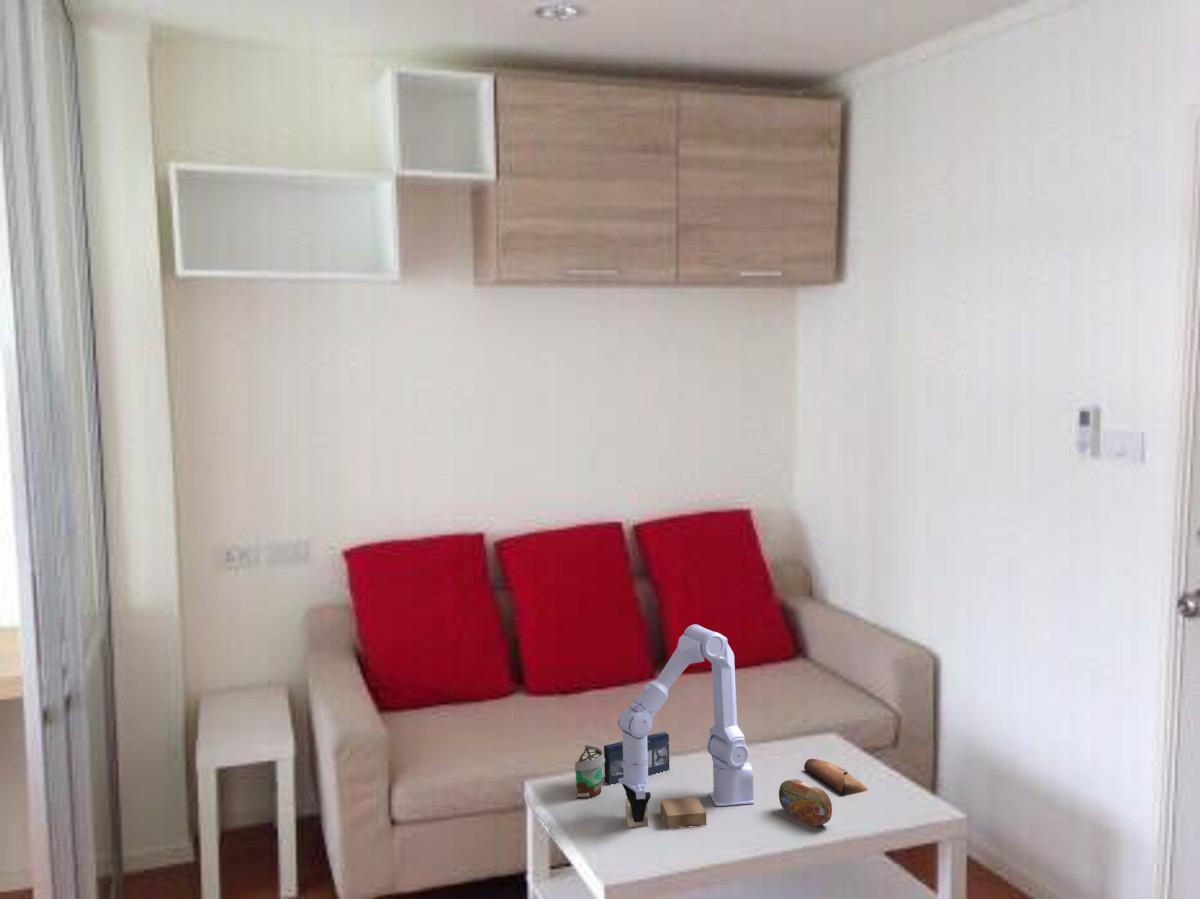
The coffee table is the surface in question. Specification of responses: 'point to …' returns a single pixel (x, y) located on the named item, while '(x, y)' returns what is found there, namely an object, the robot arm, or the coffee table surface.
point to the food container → (589, 772)
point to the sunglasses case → (834, 776)
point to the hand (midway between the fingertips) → (636, 816)
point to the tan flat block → (683, 812)
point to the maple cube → (630, 817)
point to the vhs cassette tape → (656, 757)
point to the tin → (805, 802)
